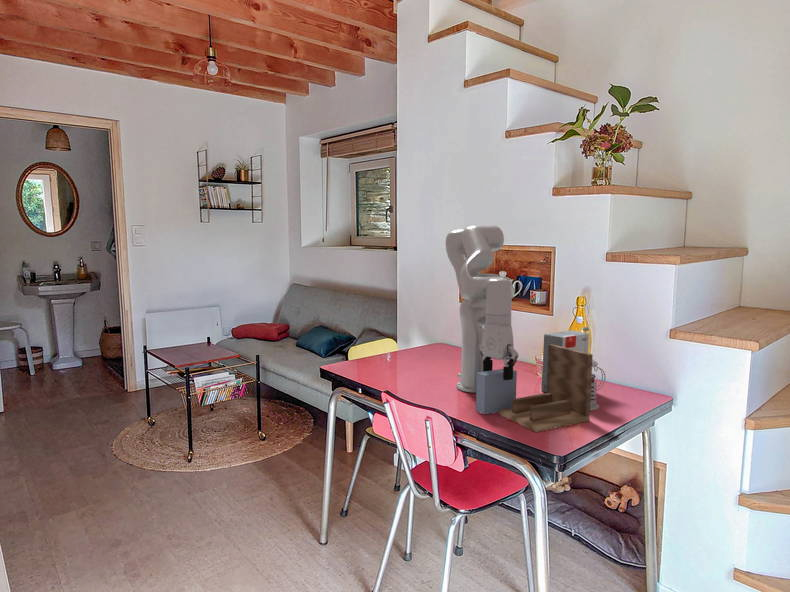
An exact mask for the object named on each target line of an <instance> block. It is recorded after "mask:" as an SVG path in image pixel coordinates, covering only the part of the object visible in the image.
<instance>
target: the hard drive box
mask: <svg viewBox="0 0 790 592" xmlns="http://www.w3.org/2000/svg"><path fill="white" fill-rule="evenodd" d="M549 344H553V345H557V346H561V347H565V348H569V349H573V350H577V351H581V352H585V353H589V346H590V345H589V344H590V333H588V332H586V343H585V331H577V330H565V331H558V332H551V333H545V334H544V335H543V352H542V354H543V355H542V371H541V387H540V388H541V389H540V390H541V391H542V392H545V393H547V369H548V345H549ZM541 391H540V392H541Z"/></svg>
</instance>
